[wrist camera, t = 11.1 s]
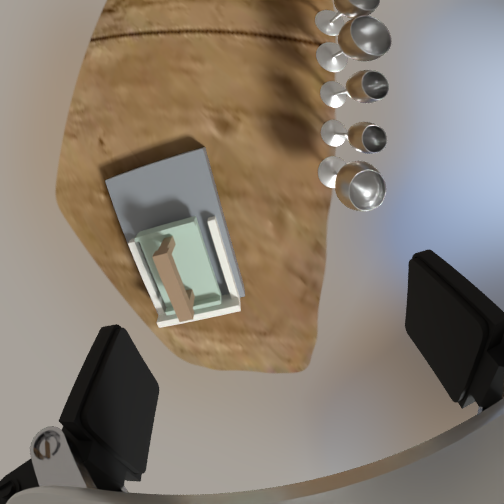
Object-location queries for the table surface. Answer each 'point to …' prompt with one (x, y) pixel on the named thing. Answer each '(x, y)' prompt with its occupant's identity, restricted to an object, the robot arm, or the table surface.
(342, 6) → the goblet set
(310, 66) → the table surface
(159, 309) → the dock
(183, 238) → the mint green tray
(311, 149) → the table surface
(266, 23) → the table surface
